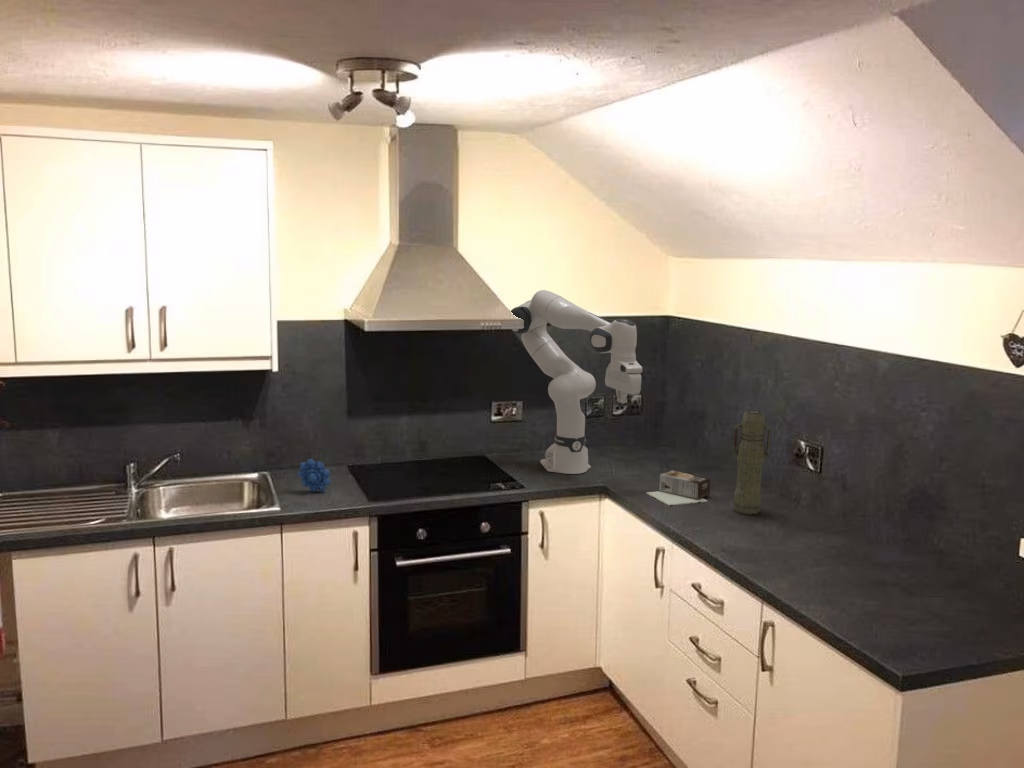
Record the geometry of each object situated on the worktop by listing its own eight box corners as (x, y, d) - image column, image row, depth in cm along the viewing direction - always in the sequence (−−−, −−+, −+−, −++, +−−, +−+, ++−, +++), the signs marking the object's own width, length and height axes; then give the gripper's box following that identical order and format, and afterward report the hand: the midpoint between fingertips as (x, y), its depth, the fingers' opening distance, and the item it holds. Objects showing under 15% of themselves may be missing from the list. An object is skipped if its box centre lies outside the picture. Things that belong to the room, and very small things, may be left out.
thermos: (727, 506, 303) (734, 408, 297) (762, 508, 302) (769, 409, 296) (730, 513, 294) (737, 413, 289) (765, 516, 293) (774, 415, 287)
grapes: (294, 494, 302) (294, 461, 300) (299, 489, 309) (299, 456, 307) (327, 495, 302) (327, 462, 300) (332, 490, 309) (332, 457, 307)
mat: (646, 493, 315) (646, 492, 315) (683, 490, 321) (684, 488, 321) (668, 505, 301) (668, 504, 301) (707, 501, 307) (707, 500, 307)
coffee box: (671, 469, 323) (711, 477, 313) (670, 486, 324) (710, 494, 314) (659, 474, 316) (699, 483, 306) (658, 491, 317) (698, 500, 307)
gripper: (601, 360, 318) (600, 397, 320) (629, 369, 299) (627, 408, 301) (616, 360, 320) (615, 397, 322) (645, 368, 301) (643, 407, 304)
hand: (621, 402), depth 312 cm, fingers closed
